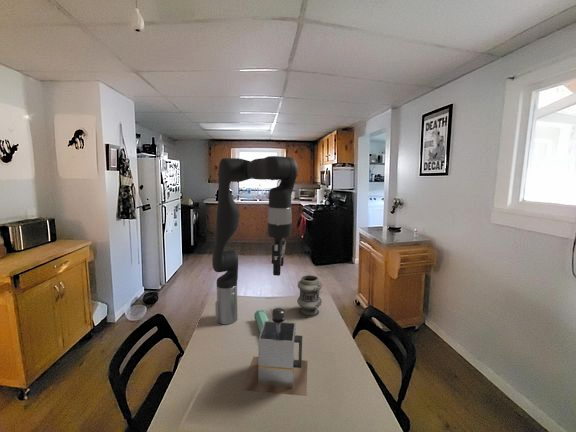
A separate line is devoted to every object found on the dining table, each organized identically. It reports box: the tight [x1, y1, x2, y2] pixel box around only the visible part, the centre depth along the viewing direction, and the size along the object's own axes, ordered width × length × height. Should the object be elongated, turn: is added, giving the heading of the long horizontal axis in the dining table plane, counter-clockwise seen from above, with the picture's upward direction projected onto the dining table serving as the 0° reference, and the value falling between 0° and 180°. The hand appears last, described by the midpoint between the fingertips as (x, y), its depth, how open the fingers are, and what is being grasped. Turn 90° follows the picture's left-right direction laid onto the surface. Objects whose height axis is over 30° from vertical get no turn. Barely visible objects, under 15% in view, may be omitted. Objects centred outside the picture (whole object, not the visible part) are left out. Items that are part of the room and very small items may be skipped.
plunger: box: [271, 307, 286, 340], centre depth 91 cm, size 8×8×17 cm
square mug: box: [257, 320, 303, 388], centre depth 92 cm, size 14×11×16 cm
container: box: [253, 309, 269, 334], centre depth 117 cm, size 6×6×25 cm
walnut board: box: [242, 355, 309, 397], centre depth 93 cm, size 20×16×1 cm
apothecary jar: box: [297, 274, 323, 318], centre depth 137 cm, size 12×12×18 cm
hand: (278, 270), depth 90 cm, fingers open, 8 cm apart
